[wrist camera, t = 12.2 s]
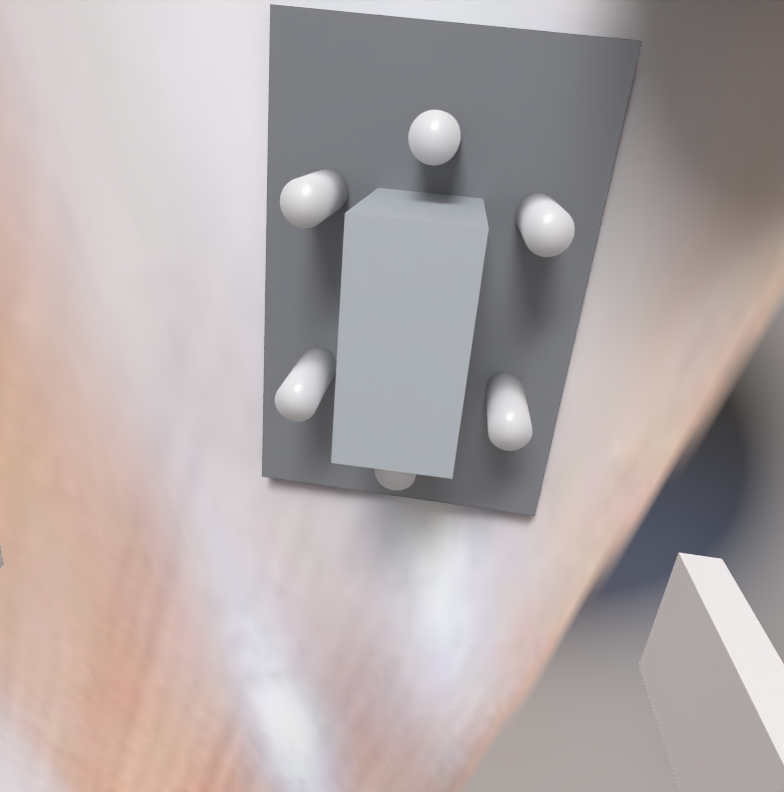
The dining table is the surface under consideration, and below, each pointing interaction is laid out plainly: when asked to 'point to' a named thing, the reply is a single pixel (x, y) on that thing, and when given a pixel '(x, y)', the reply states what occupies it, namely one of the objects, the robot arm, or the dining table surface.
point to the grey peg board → (440, 174)
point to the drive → (406, 329)
